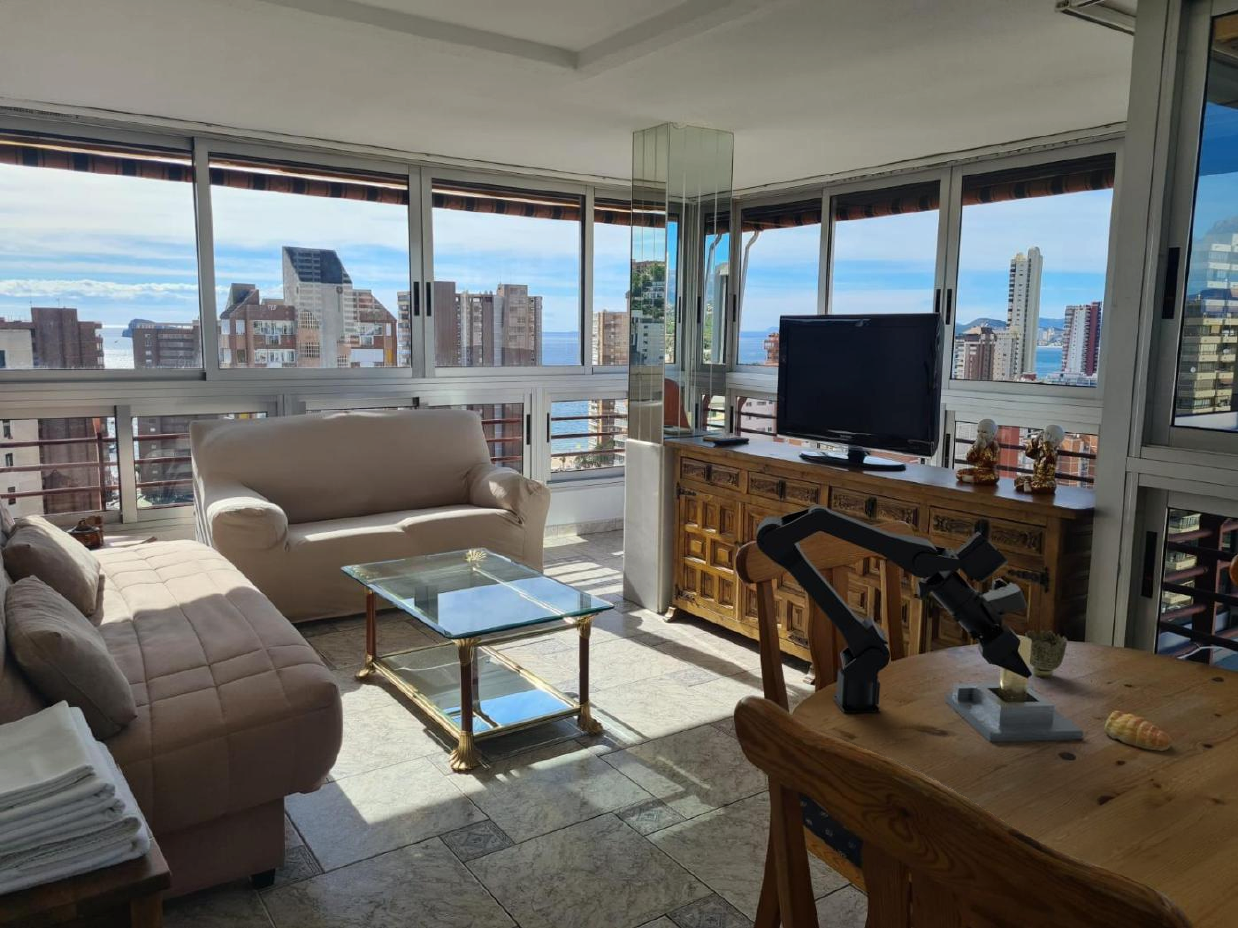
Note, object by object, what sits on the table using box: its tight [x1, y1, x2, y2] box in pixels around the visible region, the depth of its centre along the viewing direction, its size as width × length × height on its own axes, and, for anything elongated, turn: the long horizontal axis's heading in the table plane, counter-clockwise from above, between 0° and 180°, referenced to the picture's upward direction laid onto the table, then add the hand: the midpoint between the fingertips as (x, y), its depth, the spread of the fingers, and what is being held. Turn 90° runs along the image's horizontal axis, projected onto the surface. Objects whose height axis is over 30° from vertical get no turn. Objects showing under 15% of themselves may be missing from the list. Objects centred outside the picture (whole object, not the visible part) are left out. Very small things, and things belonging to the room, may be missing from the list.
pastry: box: [1103, 710, 1173, 752], centre depth 149 cm, size 9×7×4 cm
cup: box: [1024, 629, 1068, 679], centre depth 176 cm, size 8×7×8 cm
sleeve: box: [998, 634, 1032, 703], centre depth 155 cm, size 4×4×13 cm
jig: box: [944, 682, 1084, 743], centre depth 156 cm, size 16×16×4 cm
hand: (1022, 666), depth 155 cm, fingers open, 9 cm apart
